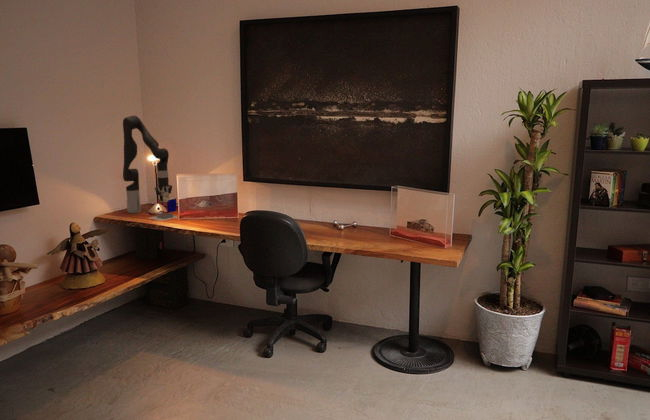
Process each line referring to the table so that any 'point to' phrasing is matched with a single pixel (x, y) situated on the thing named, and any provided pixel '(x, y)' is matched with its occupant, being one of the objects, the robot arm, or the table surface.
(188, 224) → the table surface
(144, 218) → the table surface
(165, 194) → the block
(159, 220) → the mat
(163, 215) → the tile
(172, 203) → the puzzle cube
